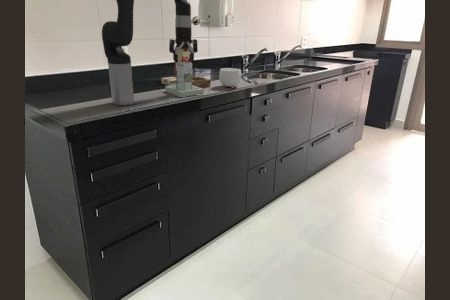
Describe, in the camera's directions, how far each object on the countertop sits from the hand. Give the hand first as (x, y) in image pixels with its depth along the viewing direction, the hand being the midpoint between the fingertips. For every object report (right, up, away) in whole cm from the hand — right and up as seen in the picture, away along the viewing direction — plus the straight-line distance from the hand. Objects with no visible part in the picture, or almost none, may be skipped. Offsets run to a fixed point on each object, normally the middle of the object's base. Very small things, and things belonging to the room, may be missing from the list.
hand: (183, 61), depth 154 cm
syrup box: (0, -14, +6) cm, 15 cm away
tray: (-1, -14, +6) cm, 15 cm away
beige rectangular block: (-10, -6, +27) cm, 29 cm away
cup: (+23, -8, +24) cm, 34 cm away
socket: (+4, -7, +23) cm, 25 cm away
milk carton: (-6, +1, +42) cm, 42 cm away
